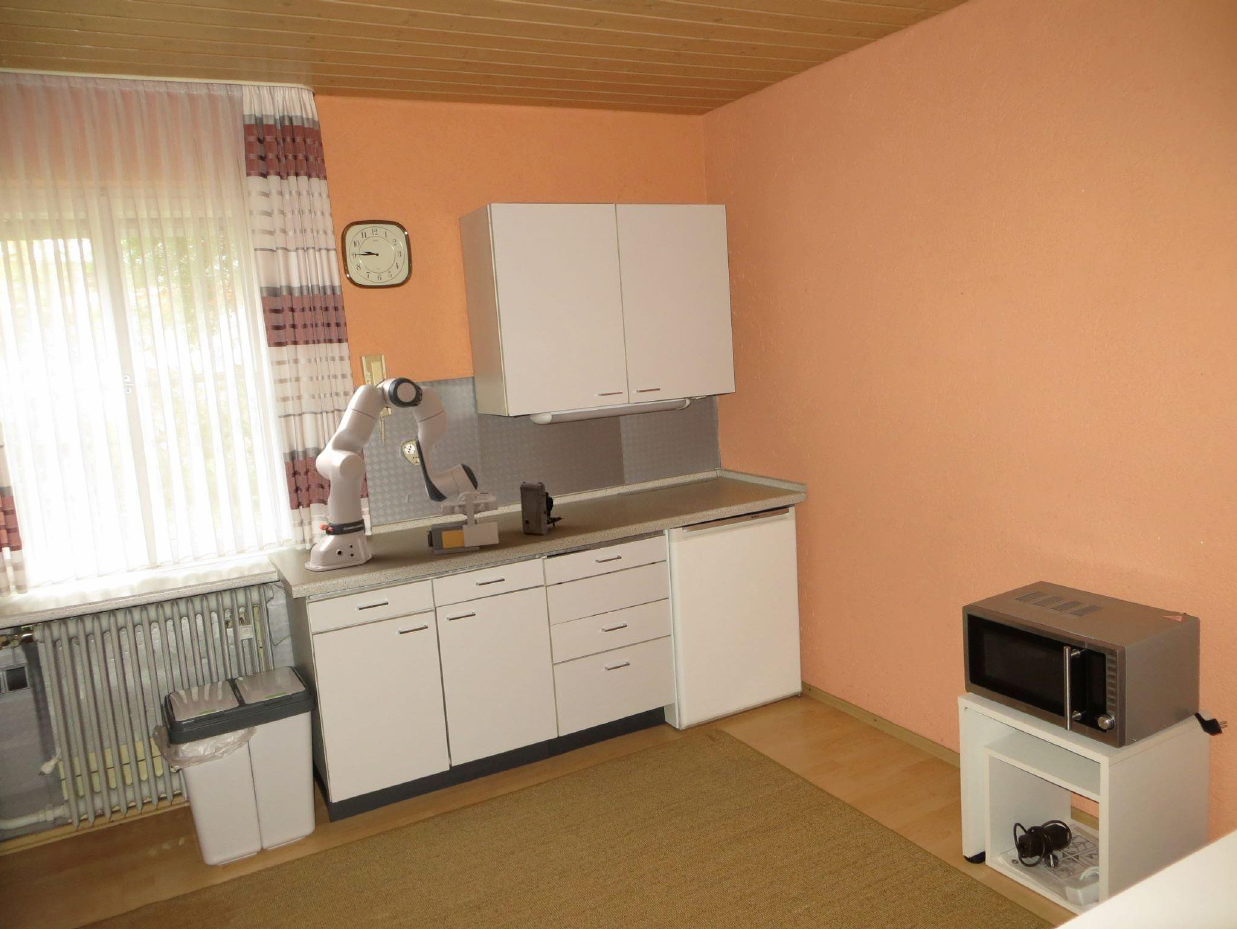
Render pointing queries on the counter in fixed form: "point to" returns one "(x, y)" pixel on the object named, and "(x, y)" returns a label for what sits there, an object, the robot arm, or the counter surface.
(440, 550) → the camera housing
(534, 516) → the vintage camera
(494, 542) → the side door
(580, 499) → the counter surface
